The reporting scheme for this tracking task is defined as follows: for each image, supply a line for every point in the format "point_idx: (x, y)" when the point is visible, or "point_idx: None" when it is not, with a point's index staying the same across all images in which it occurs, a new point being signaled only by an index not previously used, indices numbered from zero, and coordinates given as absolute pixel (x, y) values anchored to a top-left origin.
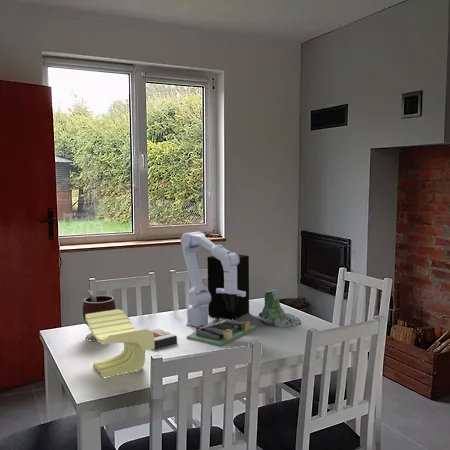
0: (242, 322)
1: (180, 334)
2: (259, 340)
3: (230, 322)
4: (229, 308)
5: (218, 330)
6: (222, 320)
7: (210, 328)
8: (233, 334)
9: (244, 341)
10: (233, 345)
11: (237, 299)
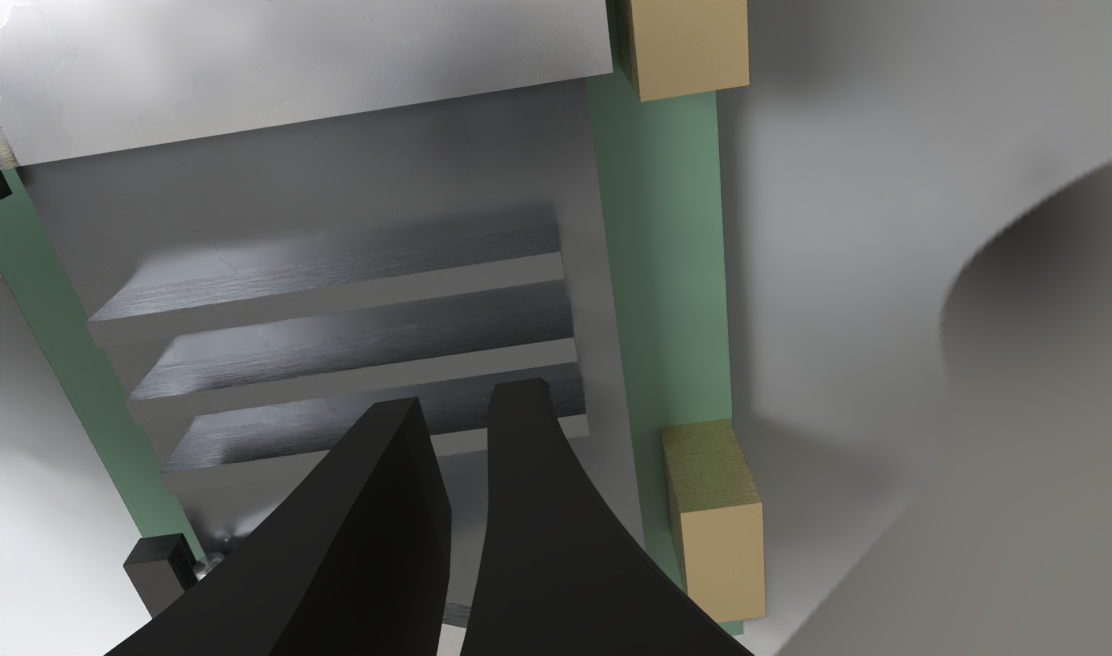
0: (640, 44)
1: (49, 639)
2: (1095, 150)
3: (322, 114)
4: (433, 524)
5: (475, 501)
6: (98, 151)
7: None
8: (642, 305)
9: (899, 330)
10: (850, 512)
11: (712, 640)
